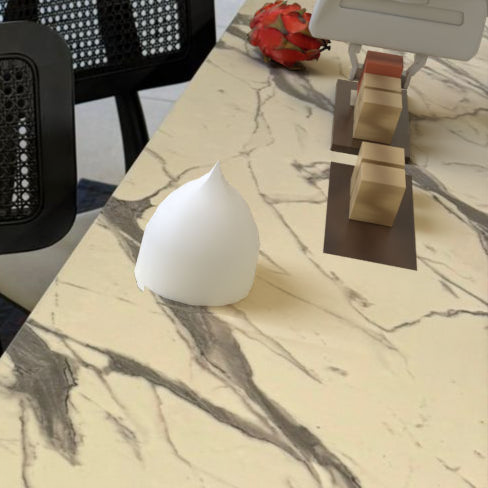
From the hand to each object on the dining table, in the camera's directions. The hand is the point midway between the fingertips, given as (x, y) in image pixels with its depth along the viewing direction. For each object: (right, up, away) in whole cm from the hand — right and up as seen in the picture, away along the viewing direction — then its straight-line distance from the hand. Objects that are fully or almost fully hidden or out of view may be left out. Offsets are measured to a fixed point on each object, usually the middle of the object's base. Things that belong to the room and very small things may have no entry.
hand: (377, 83), depth 129 cm
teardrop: (-29, -32, -33) cm, 54 cm away
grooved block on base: (-9, -22, -21) cm, 32 cm away
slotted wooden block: (-1, -5, -1) cm, 6 cm away
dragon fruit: (-9, +7, +12) cm, 17 cm away
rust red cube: (0, -1, +1) cm, 1 cm away
